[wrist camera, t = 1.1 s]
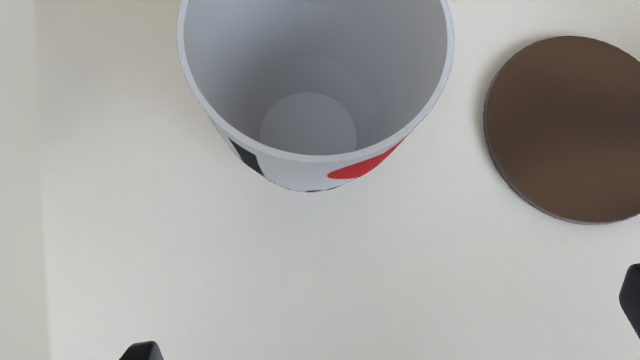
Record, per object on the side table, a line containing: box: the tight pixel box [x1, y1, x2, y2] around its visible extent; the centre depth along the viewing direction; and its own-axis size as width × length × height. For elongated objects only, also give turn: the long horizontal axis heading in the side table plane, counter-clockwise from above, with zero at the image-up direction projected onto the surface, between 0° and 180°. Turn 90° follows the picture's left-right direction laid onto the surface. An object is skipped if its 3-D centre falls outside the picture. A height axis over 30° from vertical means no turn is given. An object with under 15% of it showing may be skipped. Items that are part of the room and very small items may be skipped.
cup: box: [177, 0, 454, 192], centre depth 19 cm, size 8×8×10 cm
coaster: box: [483, 36, 640, 225], centre depth 24 cm, size 10×10×1 cm
